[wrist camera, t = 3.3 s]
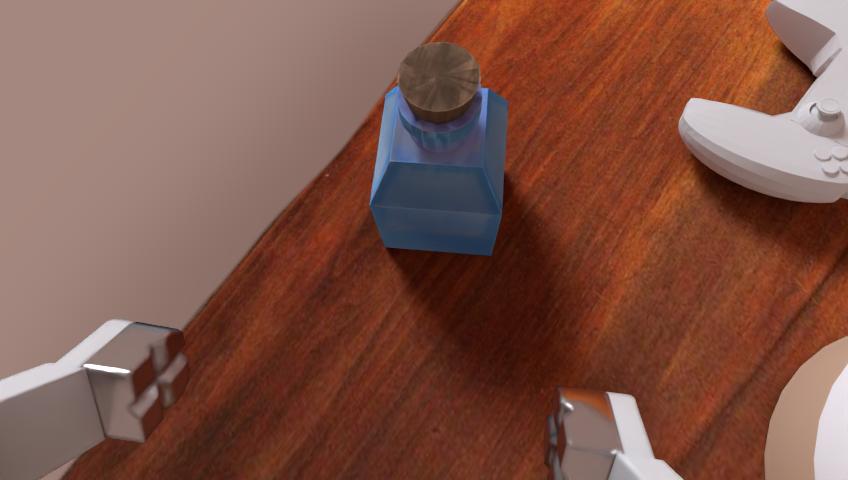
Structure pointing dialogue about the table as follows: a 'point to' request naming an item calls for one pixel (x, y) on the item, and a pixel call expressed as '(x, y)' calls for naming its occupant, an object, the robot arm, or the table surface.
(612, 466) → the robot arm
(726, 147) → the game controller
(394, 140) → the perfume bottle
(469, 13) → the table surface
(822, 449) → the bowl
